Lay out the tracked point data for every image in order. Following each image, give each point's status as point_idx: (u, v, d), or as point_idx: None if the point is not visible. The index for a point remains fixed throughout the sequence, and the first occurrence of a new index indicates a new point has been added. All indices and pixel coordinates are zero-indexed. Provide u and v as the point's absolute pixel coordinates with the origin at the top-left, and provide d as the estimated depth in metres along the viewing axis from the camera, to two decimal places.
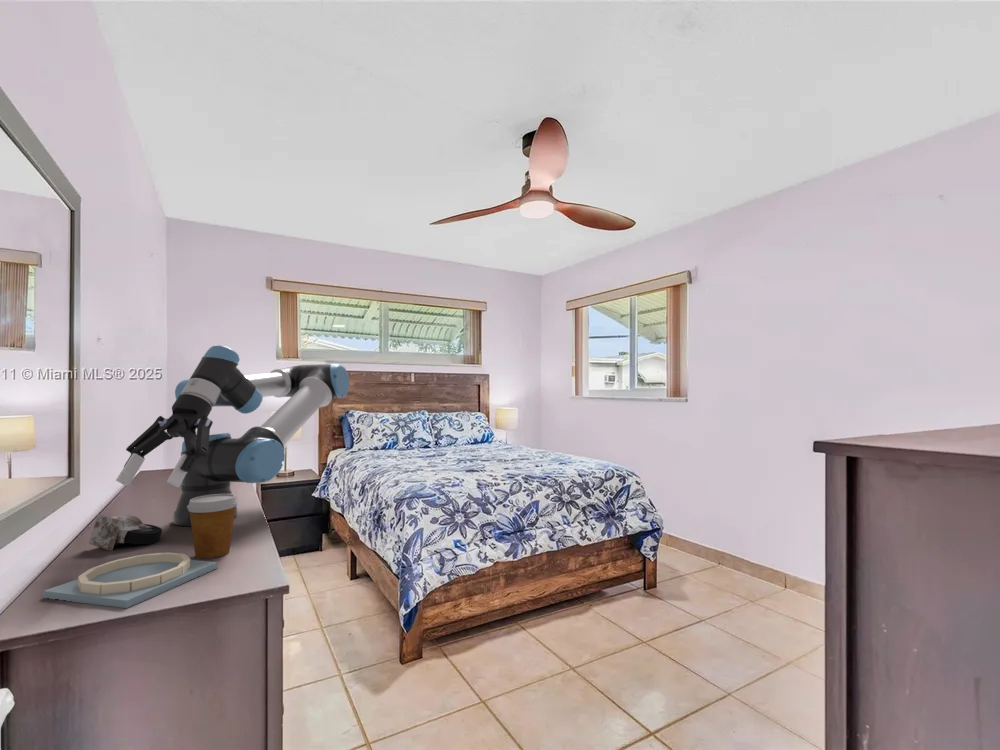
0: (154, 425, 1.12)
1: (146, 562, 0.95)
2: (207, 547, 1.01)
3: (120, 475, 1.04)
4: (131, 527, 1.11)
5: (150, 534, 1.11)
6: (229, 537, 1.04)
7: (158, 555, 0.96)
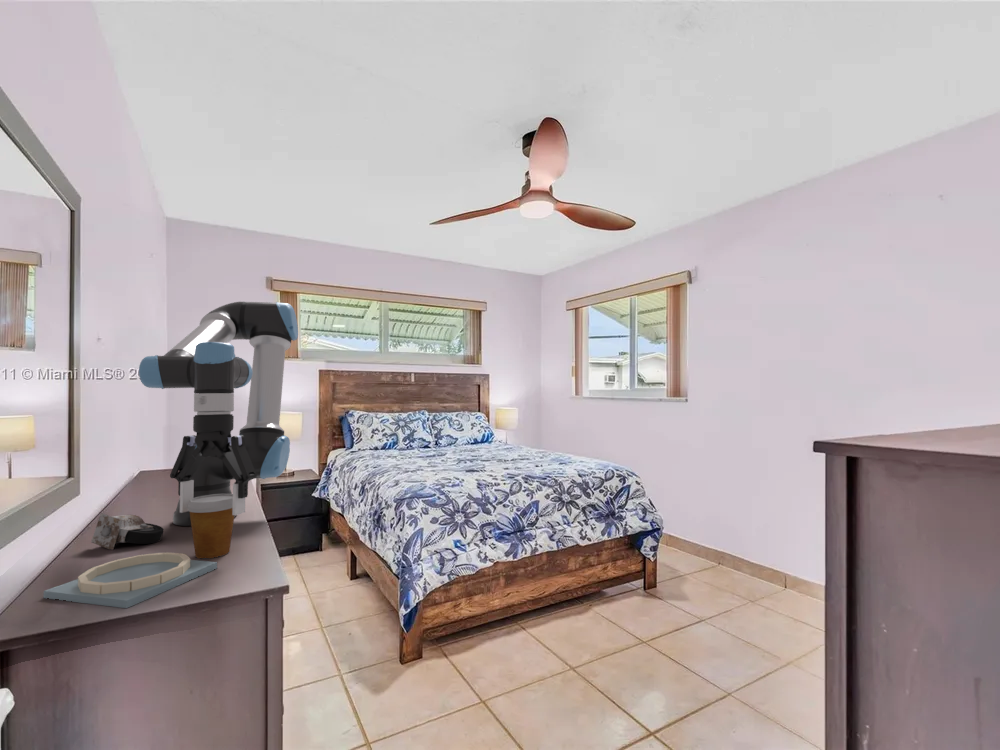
0: (184, 447, 1.05)
1: (146, 562, 0.95)
2: (207, 547, 1.01)
3: (181, 507, 1.04)
4: (132, 526, 1.11)
5: (150, 534, 1.11)
6: (229, 537, 1.04)
7: (158, 555, 0.96)
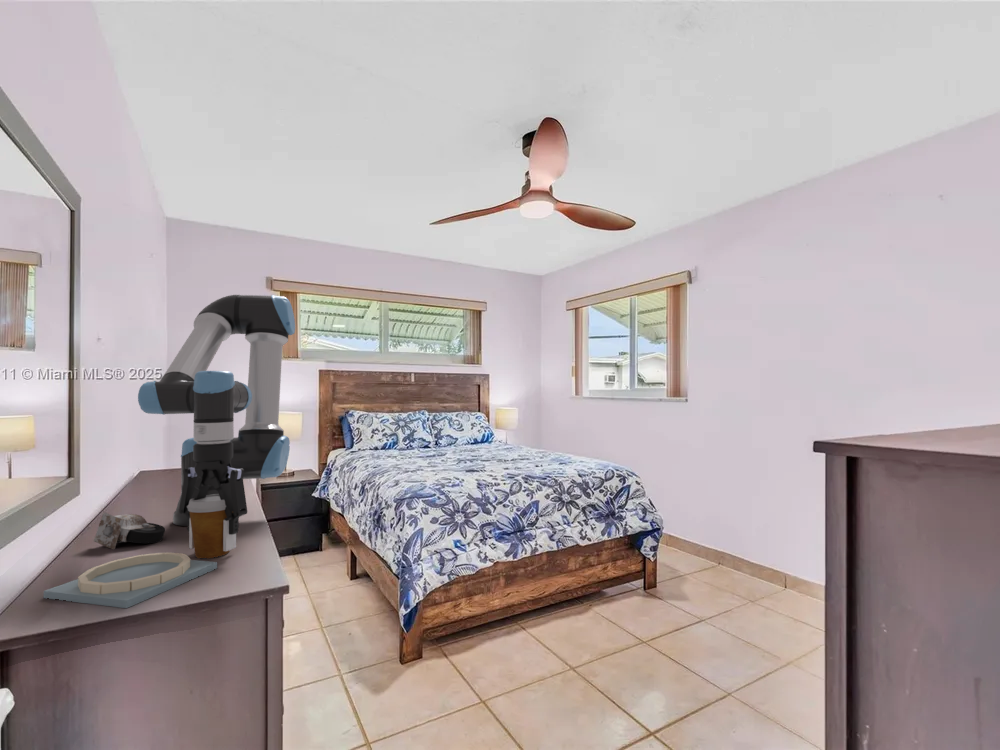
0: (186, 480, 1.05)
1: (146, 562, 0.95)
2: (207, 547, 1.01)
3: (190, 543, 1.04)
4: (134, 526, 1.12)
5: (152, 533, 1.11)
6: None
7: (158, 555, 0.96)
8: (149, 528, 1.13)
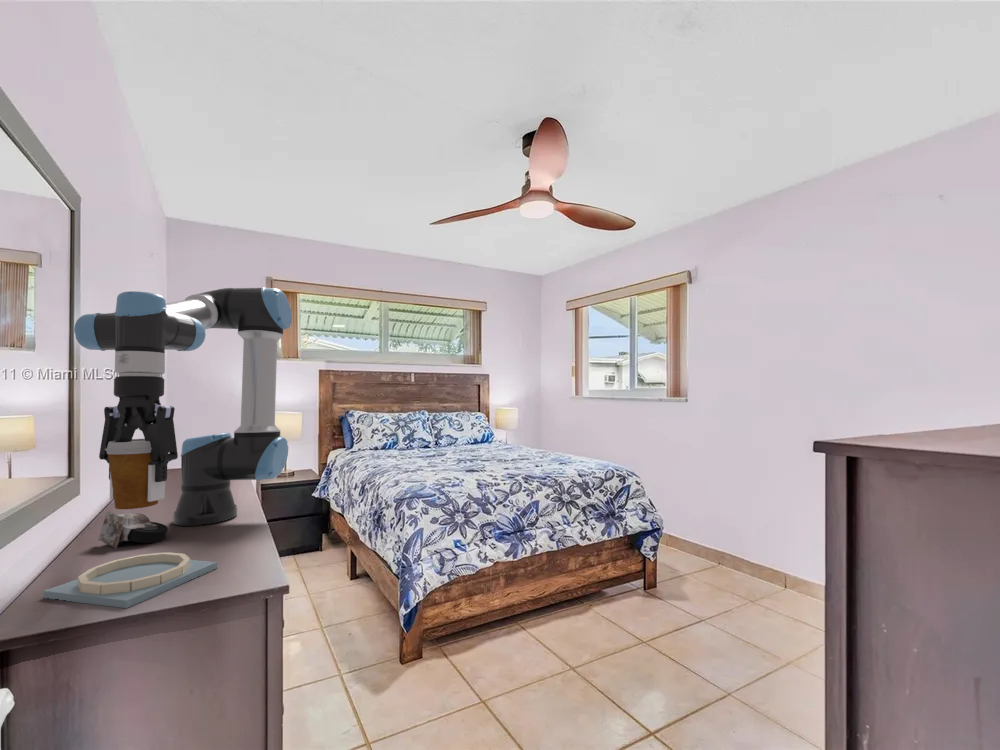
0: (107, 420, 0.90)
1: (146, 562, 0.95)
2: (127, 496, 0.86)
3: (111, 493, 0.89)
4: (137, 525, 1.12)
5: (153, 533, 1.11)
6: None
7: (158, 555, 0.96)
8: (151, 527, 1.14)
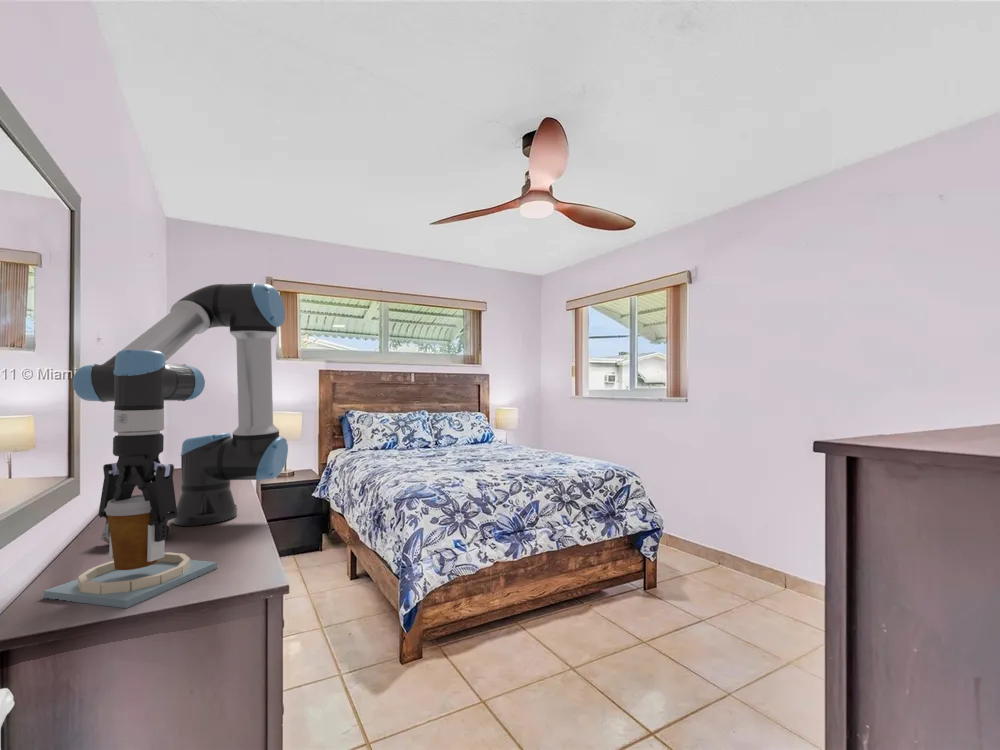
0: (106, 478, 0.89)
1: None
2: (127, 557, 0.85)
3: (111, 551, 0.88)
4: None
5: None
6: None
7: None
8: None
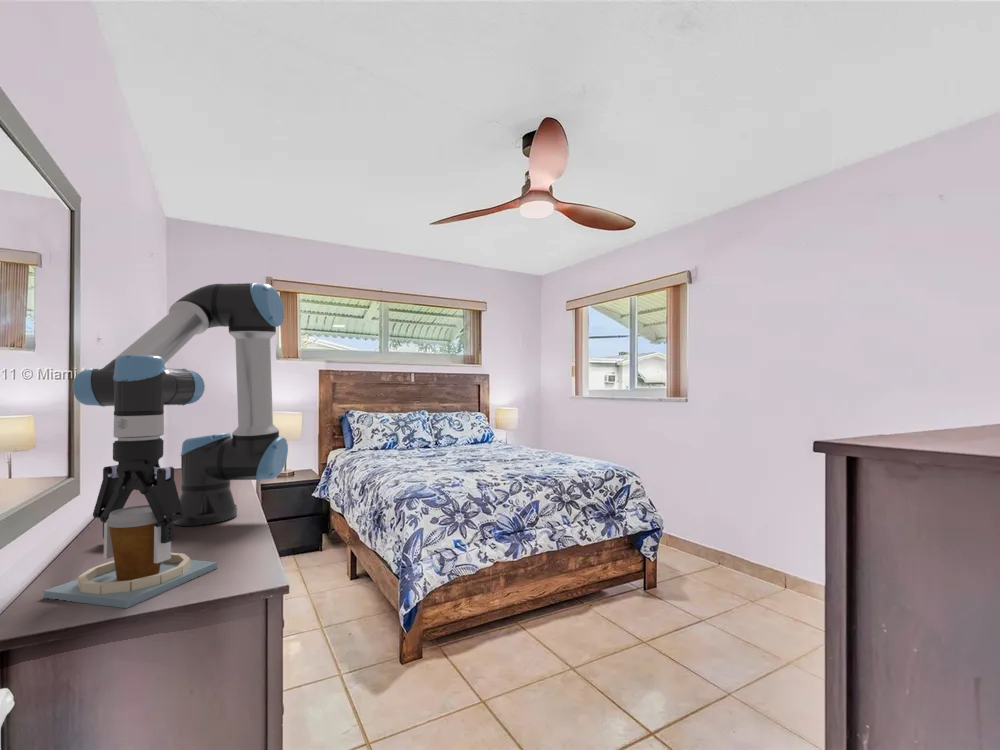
0: (105, 480, 0.89)
1: None
2: (129, 568, 0.85)
3: (105, 552, 0.89)
4: None
5: None
6: None
7: None
8: None
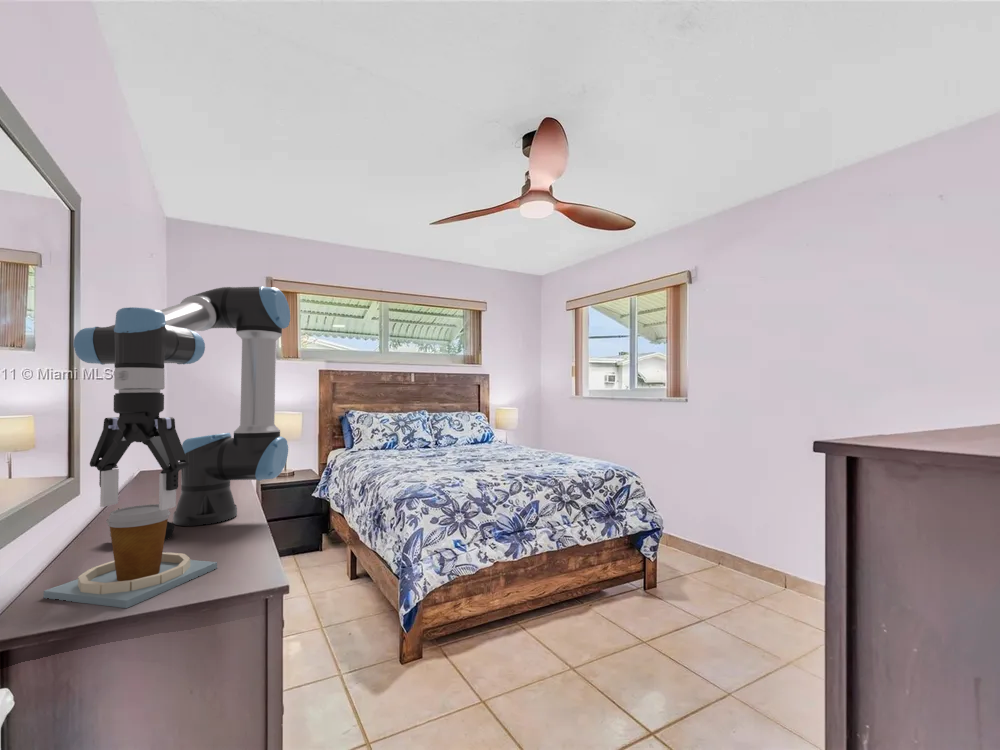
0: (105, 431, 0.90)
1: None
2: (129, 568, 0.85)
3: (102, 500, 0.89)
4: None
5: None
6: (158, 556, 0.89)
7: None
8: None
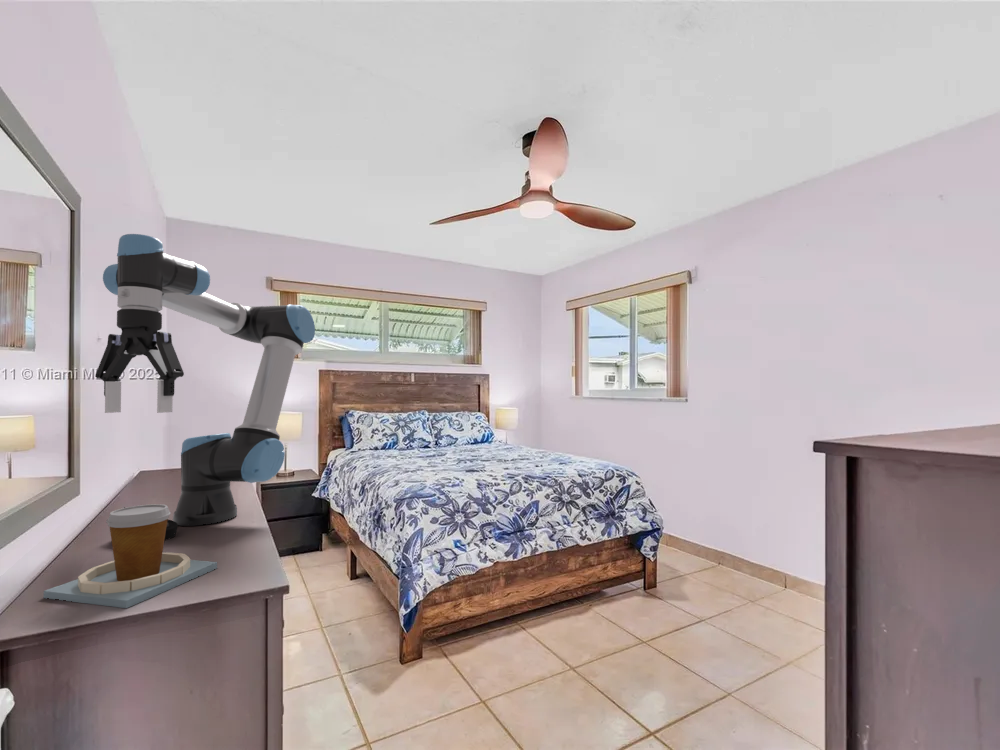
0: (109, 346, 1.01)
1: None
2: (129, 568, 0.85)
3: (106, 407, 1.00)
4: None
5: None
6: (158, 556, 0.89)
7: None
8: None
